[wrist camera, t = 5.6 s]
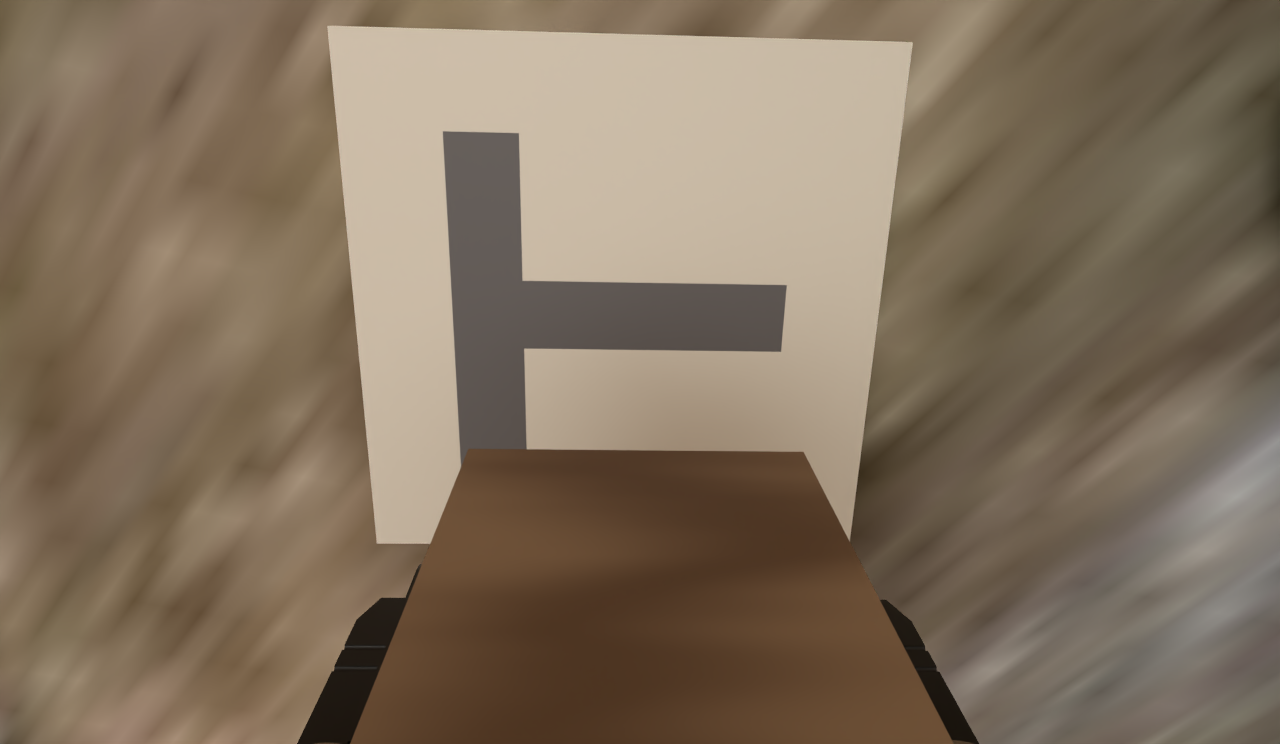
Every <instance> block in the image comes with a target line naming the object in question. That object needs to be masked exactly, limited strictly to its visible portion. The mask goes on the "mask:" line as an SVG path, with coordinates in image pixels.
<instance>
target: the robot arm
mask: <svg viewBox="0 0 1280 744" xmlns="http://www.w3.org/2000/svg"><path fill="white" fill-rule="evenodd" d="M421 566H422V564H420V565H419V566H418V568H417V570H416V573H415V575H414V578H413V580H412V583H411V585H410V588H409V590H408V593H407V595H406V598H381V599H380V600H379V601H377V602H376V603H375V604H374V605H373V606H372V607H371V608H369V609H368V610H367V611H366V612H365V613H364V614H363V615H361V616H360V617H359V618H358V619H357V620H356V622H355V624H354V626H353V629H352V631H351V633H350V635H349V637H348V639H347V641H346V643H345V648H344V650H342V651H341V654H340V656H339V658H338V660H337V662H336V664H335V668H334V672H331V674H330V676H329V679H328V681H327V683H326V685H325V687H324V689H323V691H322V693H321V695H320V697H319V699H318V702H317V704H316V706H315V708H314V710H313V712H312V714H311V716H310V718H309V720H308V722H307V724H306V727H305V729H304V731H303V733H302V735H301V737H300V739H299V741H298V743H297V744H350V743H351V740H352V738H353V735H354V733H355V730H356V728H357V725H358V723H359V720H360V718H361V715H362V713H363V710H364V708H365V705H366V703H367V700H368V698H369V695H370V693H371V690H372V688H373V685H374V683H375V680H376V678H377V675H378V673H379V670H380V668H381V665H382V663H383V660H384V658H385V656H386V653H387V651H388V648H389V646H390V643H391V641H392V638H393V636H394V633H395V631H396V628H397V626H398V623H399V621H400V618H401V616H402V613H403V611H404V608H405V606H406V603H407V601H408V598H409V596H410V593H411V591H412V588H413V586H414V583H415V581H416V578H417V576H418V573H419V571H420V568H421ZM880 602H881V604H882V605H883V607H884V609H885V611H886V613H887V615H888V617H889V619H890V621H891V623H892V625H893V627H894V629H895V631H896V633H897V635H898V637H899V639H900V640H901V642H902V644H903V646H904V648H905V650H906V652H907V654H908V656H909V658H910V660H911V662H912V664H913V666H914V668H915V670H916V672H917V674H918V675H919V677H920V679H921V681H922V683H923V685H924V687H925V689H926V691H927V693H928V695H929V697H930V699H931V701H932V703H933V705H934V707H935V709H936V710H937V712H938V714H939V716H940V718H941V720H942V722H943V724H944V726H945V728H946V730H947V732H948V734H949V736H950V738H951V740H952V742H953V744H979V743H978V741H977V739H976V737H975V736H974V734H973V732H972V730H971V728H970V726H969V725H968V723H967V721H966V719H965V717H964V716H963V714H962V712H961V710H960V708H959V707H958V705H957V703H956V701H955V699H954V698H953V696H952V694H951V692H950V690H949V688H948V687H947V685H946V683H945V681H944V679H943V678H942V676H941V674H940V672H937V670H936V665H935V663H934V661H933V660H932V658H931V656H930V654H929V652H928V651H925V645H924V643H923V641H922V640H921V638H920V636H919V634H918V632H917V631H916V629H915V627H914V625H913V623H912V621H910V620H909V619H908V618H907V617H906V616H904V615H903V614H902V613H901V612H900V611H899V610H897V609H896V608H895V607H894V606H893V605H891V604H890V603H889V602H888V601H887V600H880Z"/></svg>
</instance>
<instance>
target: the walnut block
mask: <svg viewBox="0 0 1280 744" xmlns="http://www.w3.org/2000/svg"><path fill="white" fill-rule="evenodd" d="M350 744H953V742H952V740H951V738H950V736H949V734H948V732H947V730H946V728H945V726H944V724H943V722H942V720H941V718H940V716H939V714H938V712H937V710H936V709H935V707H934V705H933V703H932V701H931V699H930V697H929V695H928V693H927V691H926V689H925V687H924V685H923V683H922V681H921V679H920V677H919V675H918V674H917V672H916V670H915V668H914V666H913V664H912V662H911V660H910V658H909V656H908V654H907V652H906V650H905V648H904V646H903V644H902V642H901V640H900V639H899V637H898V635H897V633H896V631H895V629H894V627H893V625H892V623H891V621H890V619H889V617H888V615H887V613H886V611H885V609H884V607H883V605H882V604H881V602H880V600H879V598H878V596H877V594H876V592H875V590H874V588H873V586H872V584H871V582H870V580H869V578H868V576H867V574H866V572H865V570H864V569H863V567H862V565H861V563H860V561H859V559H858V557H857V555H856V553H855V551H854V549H853V547H852V545H851V543H850V541H849V539H848V537H847V535H846V534H845V532H844V530H843V528H842V526H841V524H840V522H839V520H838V518H837V516H836V514H835V512H834V510H833V508H832V506H831V504H830V502H829V500H828V499H827V497H826V495H825V493H824V491H823V489H822V487H821V485H820V483H819V481H818V479H817V477H816V475H815V473H814V471H813V469H812V467H811V465H810V464H809V462H808V460H807V458H806V456H805V454H804V452H771V451H662V450H552V449H468V451H467V454H466V456H465V459H464V461H463V464H462V466H461V468H460V471H459V473H458V476H457V478H456V481H455V483H454V486H453V488H452V491H451V493H450V496H449V498H448V501H447V503H446V506H445V508H444V511H443V513H442V516H441V518H440V521H439V523H438V526H437V528H436V531H435V533H434V536H433V538H432V541H431V543H430V546H429V548H428V551H427V553H426V556H425V558H424V561H423V563H422V566H421V568H420V571H419V573H418V576H417V578H416V581H415V583H414V586H413V588H412V591H411V593H410V596H409V598H408V601H407V603H406V606H405V608H404V611H403V613H402V616H401V618H400V621H399V623H398V626H397V628H396V631H395V633H394V636H393V638H392V641H391V643H390V646H389V648H388V651H387V653H386V656H385V658H384V660H383V663H382V665H381V668H380V670H379V673H378V675H377V678H376V680H375V683H374V685H373V688H372V690H371V693H370V695H369V698H368V700H367V703H366V705H365V708H364V710H363V713H362V715H361V718H360V720H359V723H358V725H357V728H356V730H355V733H354V735H353V738H352V740H351V743H350Z"/></svg>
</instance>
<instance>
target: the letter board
mask: <svg viewBox="0 0 1280 744" xmlns="http://www.w3.org/2000/svg"><path fill="white" fill-rule="evenodd" d="M327 27H328V38H329V48H330V58H331V69H332V79H333V90H334V100H335V111H336V121H337V131H338V142H339V152H340V163H341V173H342V184H343V194H344V204H345V215H346V225H347V236H348V246H349V257H350V267H351V277H352V288H353V298H354V309H355V319H356V330H357V340H358V350H359V361H360V371H361V382H362V392H363V403H364V413H365V423H366V434H367V444H368V455H369V465H370V476H371V486H372V497H373V507H374V517H375V528H376V538H377V543H400V544H430V543H431V541H432V538H433V536H434V533H435V531H436V528H437V526H438V523H439V521H440V518H441V516H442V513H443V511H444V508H445V506H446V503H447V501H448V498H449V496H450V493H451V491H452V488H453V486H454V483H455V481H456V478H457V476H458V473H459V471H460V468H461V466H462V464H463V461H464V459H465V456H466V454H467V451H468V449H552V450H662V451H771V452H804V454H805V456H806V458H807V460H808V462H809V464H810V465H811V467H812V469H813V471H814V473H815V475H816V477H817V479H818V481H819V483H820V485H821V487H822V489H823V491H824V493H825V495H826V497H827V499H828V500H829V502H830V504H831V506H832V508H833V510H834V512H835V514H836V516H837V518H838V520H839V522H840V524H841V526H842V528H843V530H844V532H845V534H846V535H847V537H848V539H849V541H850V535H851V527H852V520H853V512H854V504H855V496H856V488H857V480H858V472H859V464H860V456H861V448H862V440H863V433H864V425H865V417H866V409H867V401H868V393H869V385H870V377H871V369H872V361H873V353H874V346H875V338H876V330H877V322H878V314H879V306H880V298H881V290H882V282H883V274H884V266H885V259H886V251H887V243H888V235H889V227H890V219H891V211H892V203H893V195H894V187H895V179H896V171H897V164H898V156H899V148H900V140H901V132H902V124H903V116H904V108H905V100H906V92H907V84H908V77H909V69H910V61H911V53H912V45H913V42H888V41H852V40H816V39H781V38H745V37H710V36H674V35H638V34H603V33H567V32H532V31H496V30H460V29H425V28H389V27H353V26H327Z"/></svg>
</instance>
